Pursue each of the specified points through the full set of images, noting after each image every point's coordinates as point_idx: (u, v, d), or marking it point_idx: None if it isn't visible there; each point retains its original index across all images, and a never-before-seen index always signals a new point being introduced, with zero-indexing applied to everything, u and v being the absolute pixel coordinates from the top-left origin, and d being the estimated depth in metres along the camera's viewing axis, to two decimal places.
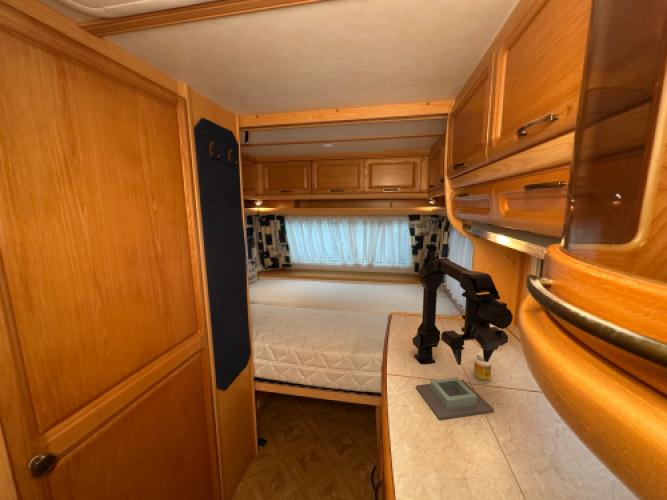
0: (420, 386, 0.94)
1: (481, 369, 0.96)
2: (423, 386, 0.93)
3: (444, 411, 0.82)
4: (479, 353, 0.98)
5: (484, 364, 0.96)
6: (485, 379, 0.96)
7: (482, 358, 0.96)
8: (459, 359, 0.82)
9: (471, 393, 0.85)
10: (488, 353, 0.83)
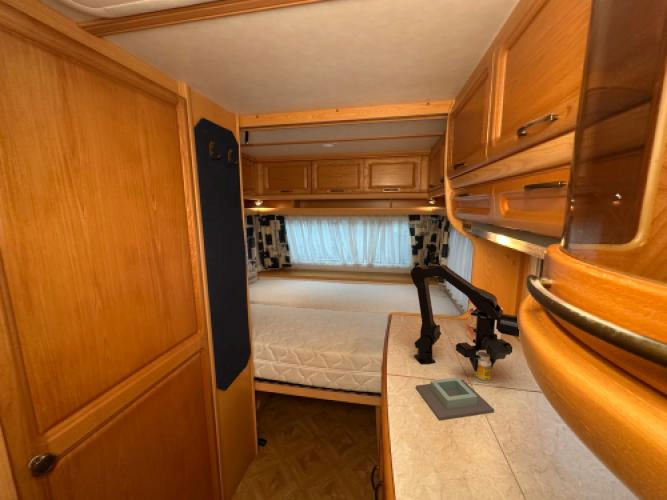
0: (420, 386, 0.94)
1: (481, 369, 0.96)
2: (423, 386, 0.93)
3: (444, 411, 0.82)
4: (479, 353, 0.98)
5: (484, 364, 0.96)
6: (485, 379, 0.96)
7: (482, 358, 0.96)
8: (476, 366, 0.97)
9: (471, 393, 0.85)
10: (491, 362, 0.98)
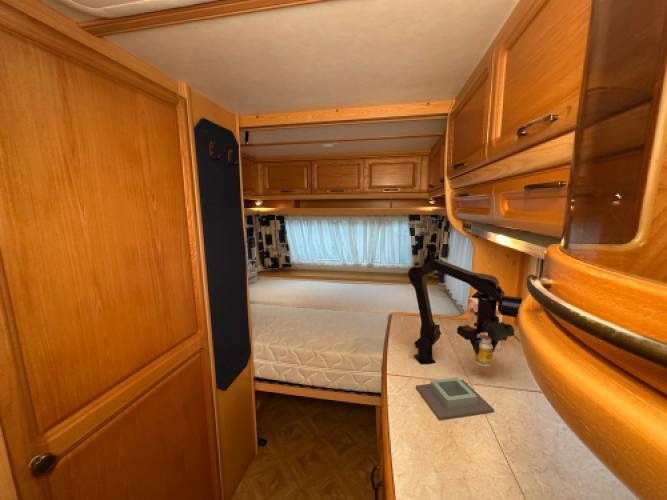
0: (420, 386, 0.94)
1: (482, 352, 0.95)
2: (423, 386, 0.93)
3: (444, 411, 0.82)
4: (480, 336, 0.97)
5: (485, 347, 0.95)
6: (486, 362, 0.95)
7: (483, 341, 0.95)
8: (477, 349, 0.96)
9: (471, 393, 0.85)
10: (493, 345, 0.97)
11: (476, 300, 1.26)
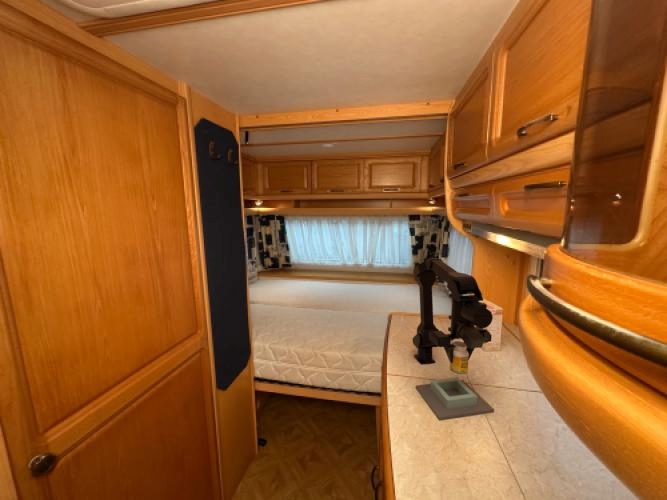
0: (420, 386, 0.94)
1: (457, 361, 0.85)
2: (423, 386, 0.93)
3: (444, 411, 0.82)
4: (455, 343, 0.87)
5: (460, 354, 0.85)
6: (462, 371, 0.85)
7: (458, 348, 0.85)
8: (451, 357, 0.86)
9: (471, 393, 0.85)
10: (468, 352, 0.87)
11: None
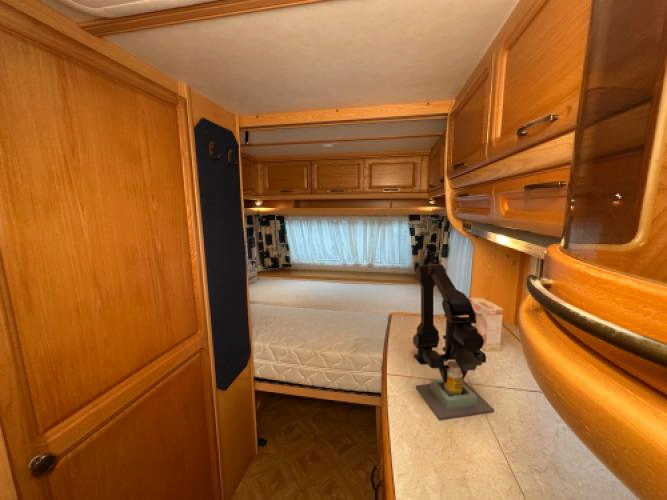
0: (420, 386, 0.94)
1: (450, 381, 0.85)
2: (423, 386, 0.93)
3: (444, 411, 0.82)
4: (449, 363, 0.87)
5: (454, 375, 0.85)
6: (455, 392, 0.85)
7: (452, 369, 0.85)
8: (445, 377, 0.86)
9: (471, 393, 0.85)
10: (463, 372, 0.87)
11: (476, 300, 1.26)
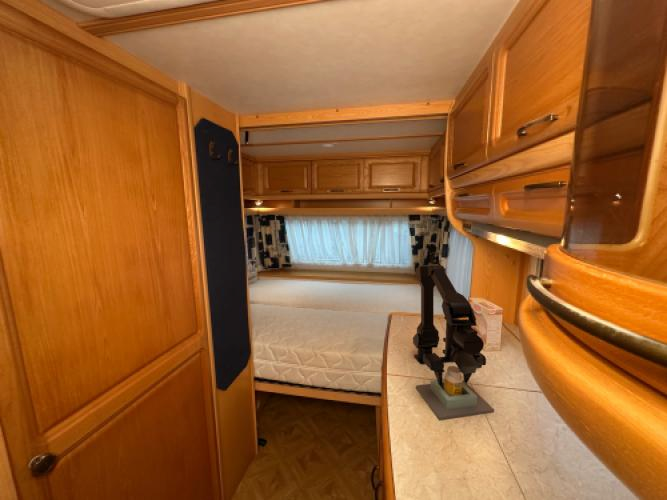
0: (420, 386, 0.94)
1: (450, 386, 0.85)
2: (423, 386, 0.93)
3: (444, 411, 0.82)
4: (450, 368, 0.87)
5: (454, 380, 0.85)
6: None
7: (452, 374, 0.85)
8: (441, 380, 0.86)
9: (471, 393, 0.85)
10: (467, 374, 0.87)
11: (476, 300, 1.26)
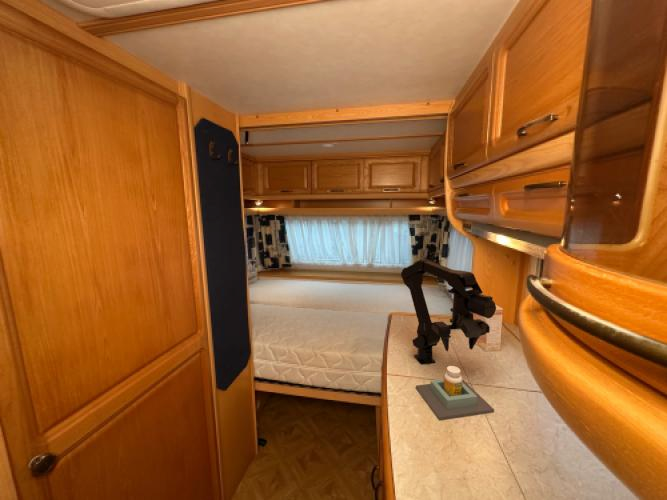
0: (420, 386, 0.94)
1: (450, 386, 0.85)
2: (423, 386, 0.93)
3: (444, 411, 0.82)
4: (449, 368, 0.87)
5: (454, 380, 0.85)
6: None
7: (452, 374, 0.85)
8: (447, 346, 0.95)
9: (471, 393, 0.85)
10: (472, 341, 0.96)
11: None
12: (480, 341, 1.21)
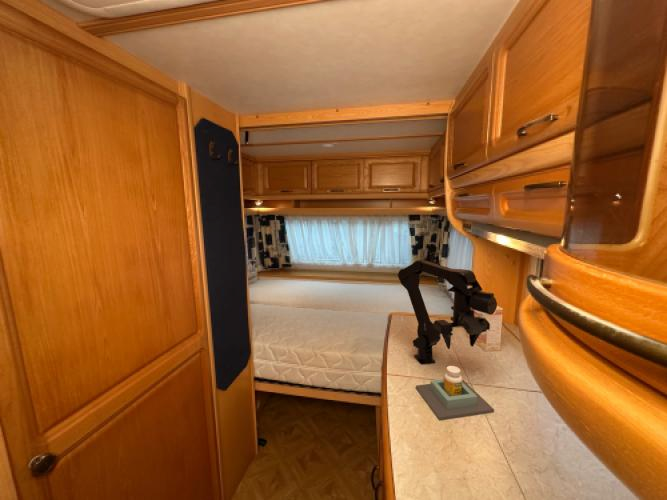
0: (420, 386, 0.94)
1: (450, 386, 0.86)
2: (423, 386, 0.93)
3: (444, 411, 0.82)
4: (449, 367, 0.88)
5: (454, 380, 0.85)
6: None
7: (451, 373, 0.85)
8: (449, 343, 0.96)
9: (471, 393, 0.85)
10: (473, 339, 0.97)
11: None
12: (480, 341, 1.21)
